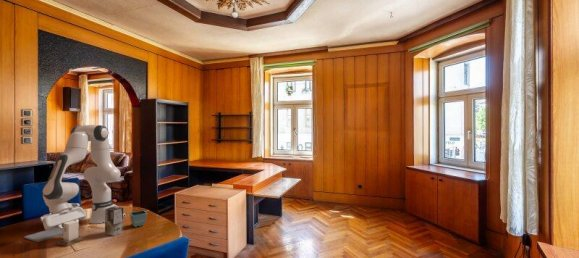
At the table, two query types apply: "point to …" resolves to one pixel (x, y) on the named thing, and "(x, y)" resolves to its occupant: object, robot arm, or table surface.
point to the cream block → (70, 230)
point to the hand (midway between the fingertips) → (71, 229)
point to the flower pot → (138, 218)
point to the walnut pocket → (70, 241)
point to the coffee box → (114, 220)
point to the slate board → (44, 235)
